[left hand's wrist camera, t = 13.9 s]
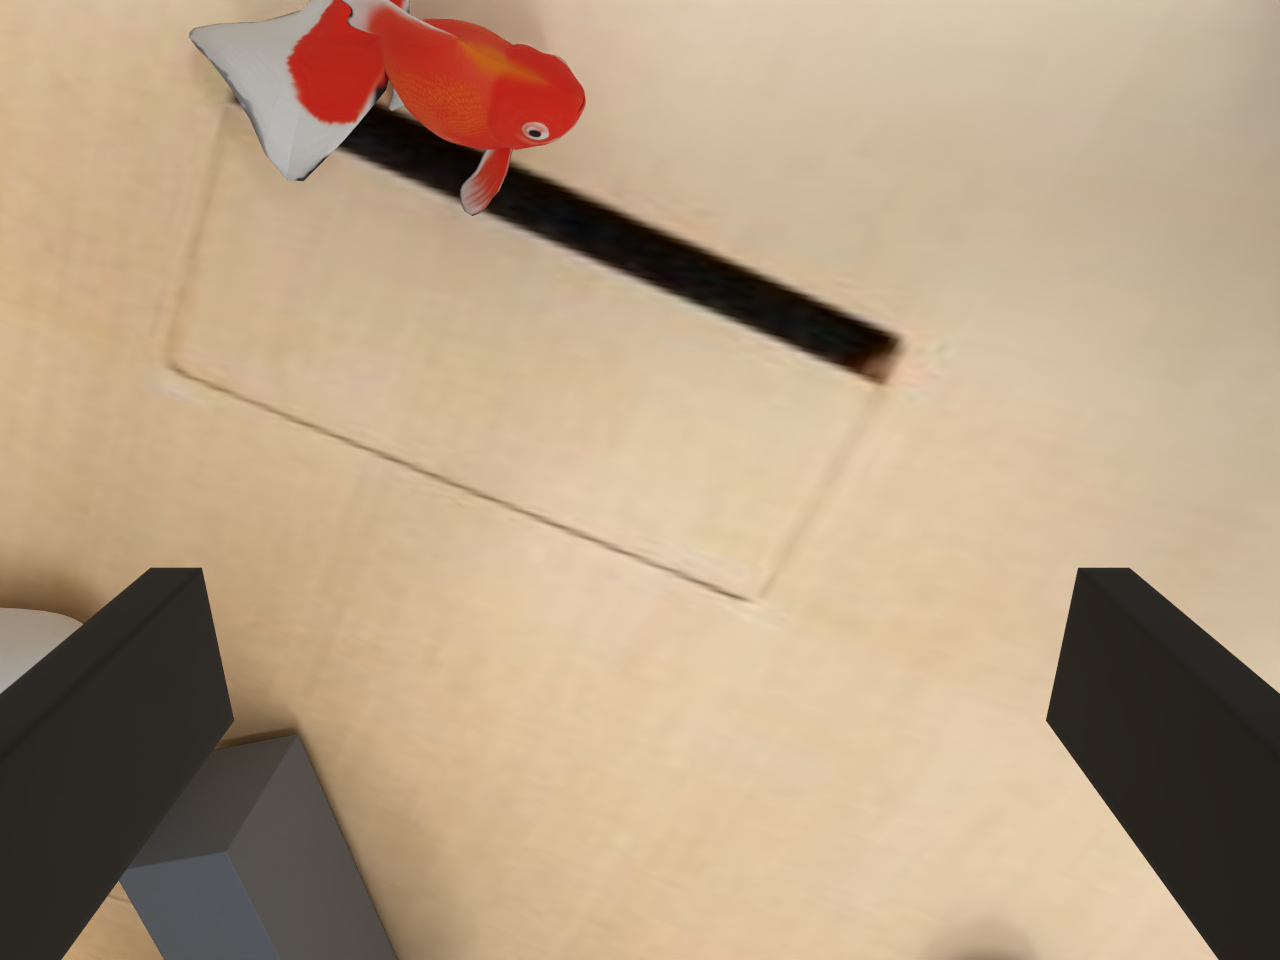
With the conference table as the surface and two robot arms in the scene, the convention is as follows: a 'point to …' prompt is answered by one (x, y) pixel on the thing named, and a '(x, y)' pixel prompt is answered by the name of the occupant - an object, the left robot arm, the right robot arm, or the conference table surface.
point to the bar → (254, 866)
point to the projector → (29, 639)
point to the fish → (419, 71)
